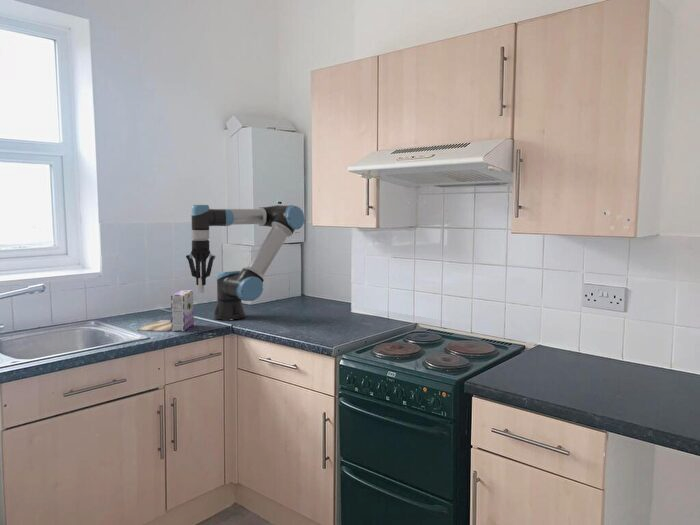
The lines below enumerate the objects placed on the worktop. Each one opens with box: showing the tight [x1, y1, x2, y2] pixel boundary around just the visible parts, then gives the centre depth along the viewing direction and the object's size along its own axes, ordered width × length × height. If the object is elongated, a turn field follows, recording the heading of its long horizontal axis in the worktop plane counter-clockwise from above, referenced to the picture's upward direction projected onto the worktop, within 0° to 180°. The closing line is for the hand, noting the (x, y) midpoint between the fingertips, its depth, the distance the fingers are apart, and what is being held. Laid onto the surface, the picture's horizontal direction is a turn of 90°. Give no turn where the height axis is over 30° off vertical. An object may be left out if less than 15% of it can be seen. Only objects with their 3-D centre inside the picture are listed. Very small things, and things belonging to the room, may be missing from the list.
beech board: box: [136, 321, 172, 333], centre depth 252 cm, size 14×16×1 cm
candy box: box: [170, 289, 195, 332], centre depth 250 cm, size 14×6×16 cm, turn 178°
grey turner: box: [157, 319, 172, 323], centre depth 264 cm, size 16×4×1 cm, turn 84°
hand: (201, 292), depth 248 cm, fingers closed
